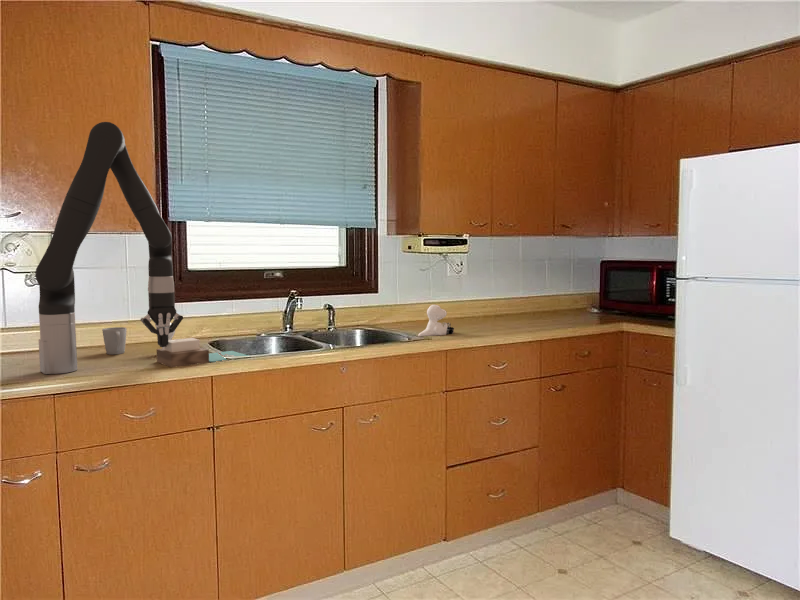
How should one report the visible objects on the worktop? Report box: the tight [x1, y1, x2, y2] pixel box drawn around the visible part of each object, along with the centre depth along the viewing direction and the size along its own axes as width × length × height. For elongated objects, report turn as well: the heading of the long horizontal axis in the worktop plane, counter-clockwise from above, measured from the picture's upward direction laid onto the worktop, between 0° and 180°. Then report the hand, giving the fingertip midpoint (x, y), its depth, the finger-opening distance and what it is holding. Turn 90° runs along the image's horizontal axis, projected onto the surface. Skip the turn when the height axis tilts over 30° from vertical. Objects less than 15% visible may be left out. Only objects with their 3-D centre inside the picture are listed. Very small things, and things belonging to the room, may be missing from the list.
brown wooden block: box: [156, 346, 210, 368], centre depth 200 cm, size 12×12×4 cm
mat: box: [208, 350, 250, 363], centre depth 209 cm, size 14×14×1 cm
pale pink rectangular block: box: [165, 337, 201, 352], centre depth 200 cm, size 9×6×3 cm, turn 130°
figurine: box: [417, 304, 455, 337], centre depth 260 cm, size 8×18×12 cm, turn 125°
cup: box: [102, 326, 127, 356], centre depth 215 cm, size 8×10×8 cm
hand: (163, 346), depth 196 cm, fingers closed
